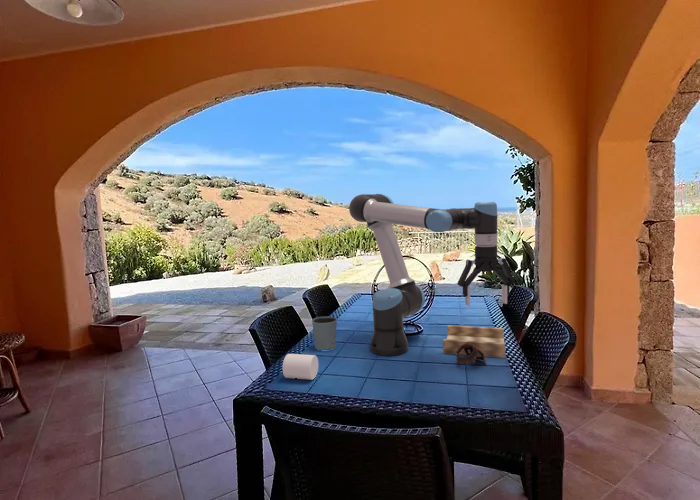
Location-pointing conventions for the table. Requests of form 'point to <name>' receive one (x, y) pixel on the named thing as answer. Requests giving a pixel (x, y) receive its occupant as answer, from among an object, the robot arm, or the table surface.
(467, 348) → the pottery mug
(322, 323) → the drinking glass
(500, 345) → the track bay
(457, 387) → the table surface
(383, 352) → the robot arm
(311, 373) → the white cylinder
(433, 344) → the table surface
